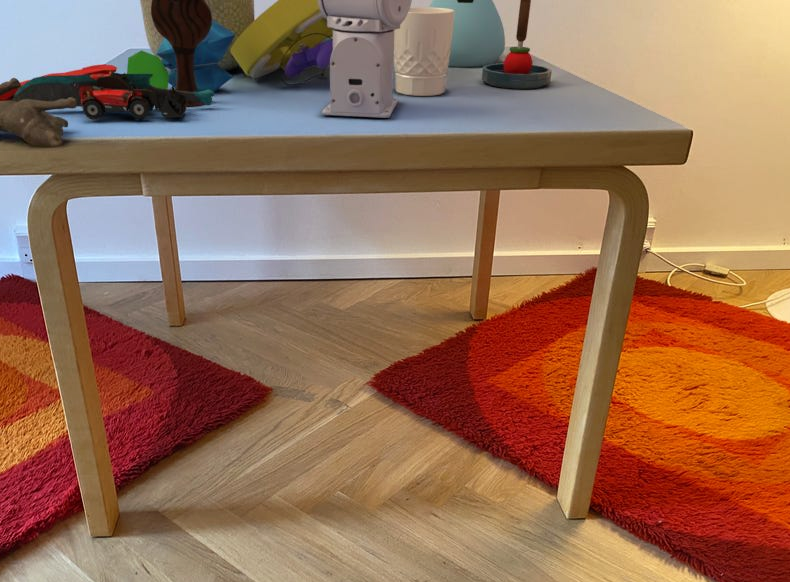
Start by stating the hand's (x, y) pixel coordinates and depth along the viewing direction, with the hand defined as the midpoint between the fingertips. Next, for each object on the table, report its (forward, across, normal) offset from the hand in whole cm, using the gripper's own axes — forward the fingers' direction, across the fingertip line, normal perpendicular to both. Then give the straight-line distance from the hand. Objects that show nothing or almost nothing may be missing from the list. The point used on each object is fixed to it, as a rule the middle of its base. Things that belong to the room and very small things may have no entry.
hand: (466, 0), depth 99 cm
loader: (+10, -34, +36) cm, 51 cm away
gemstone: (+8, -22, +39) cm, 45 cm away
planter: (+10, -1, +40) cm, 41 cm away
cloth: (+8, -22, +51) cm, 56 cm away
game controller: (+10, -9, +19) cm, 24 cm away
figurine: (+11, -24, +33) cm, 42 cm away
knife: (+6, -32, +40) cm, 51 cm away
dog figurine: (+8, -42, +42) cm, 60 cm away
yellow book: (+2, -5, +26) cm, 26 cm away
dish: (+10, -2, -8) cm, 13 cm away
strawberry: (+10, -2, -8) cm, 13 cm away
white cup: (+11, -11, +5) cm, 16 cm away
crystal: (+10, -17, +34) cm, 39 cm away
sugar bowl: (+10, +17, +1) cm, 20 cm away
